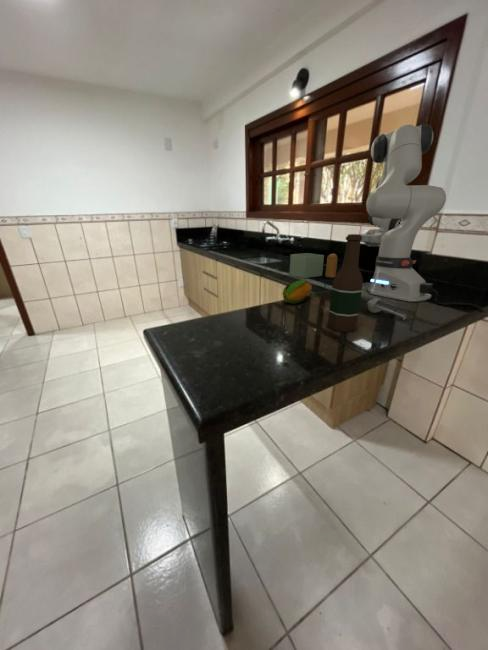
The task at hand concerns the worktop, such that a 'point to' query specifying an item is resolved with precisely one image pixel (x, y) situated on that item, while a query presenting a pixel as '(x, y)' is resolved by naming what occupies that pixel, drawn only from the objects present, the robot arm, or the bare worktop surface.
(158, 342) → the worktop surface
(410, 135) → the robot arm
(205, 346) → the worktop surface
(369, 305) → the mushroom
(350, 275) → the beer bottle
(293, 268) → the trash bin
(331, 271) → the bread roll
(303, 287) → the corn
